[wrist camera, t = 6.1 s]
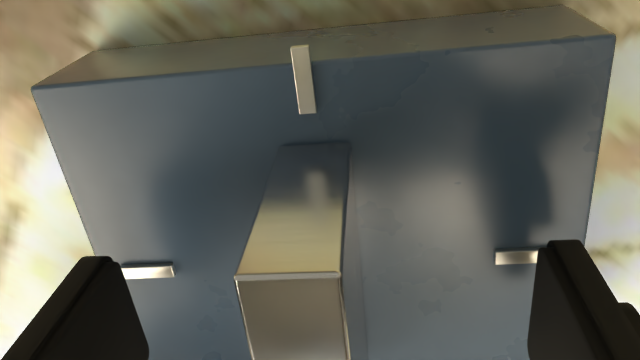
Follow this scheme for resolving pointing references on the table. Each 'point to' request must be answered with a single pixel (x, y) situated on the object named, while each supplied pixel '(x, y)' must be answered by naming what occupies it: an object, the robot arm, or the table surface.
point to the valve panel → (368, 167)
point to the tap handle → (304, 260)
